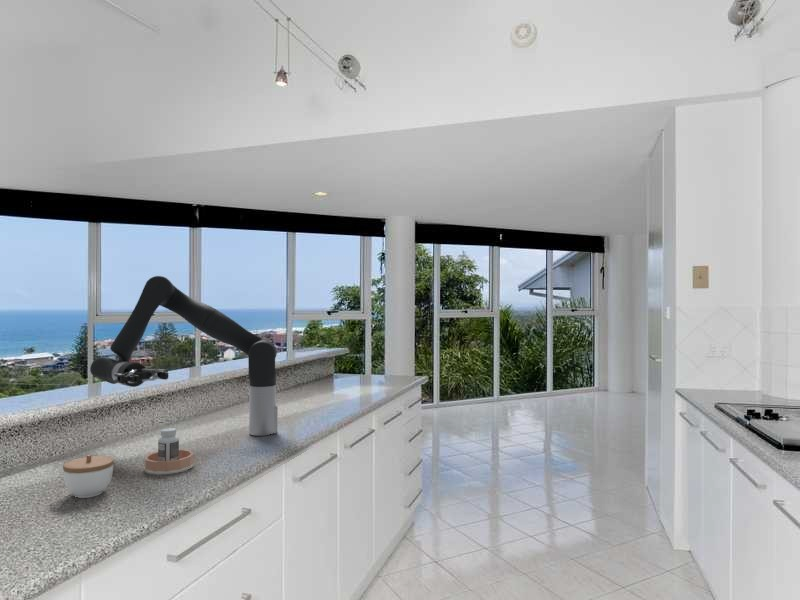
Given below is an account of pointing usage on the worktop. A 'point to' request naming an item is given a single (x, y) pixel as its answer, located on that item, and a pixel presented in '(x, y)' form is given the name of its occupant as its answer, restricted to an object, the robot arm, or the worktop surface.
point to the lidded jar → (88, 475)
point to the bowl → (168, 463)
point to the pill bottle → (168, 445)
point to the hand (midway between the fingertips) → (152, 377)
